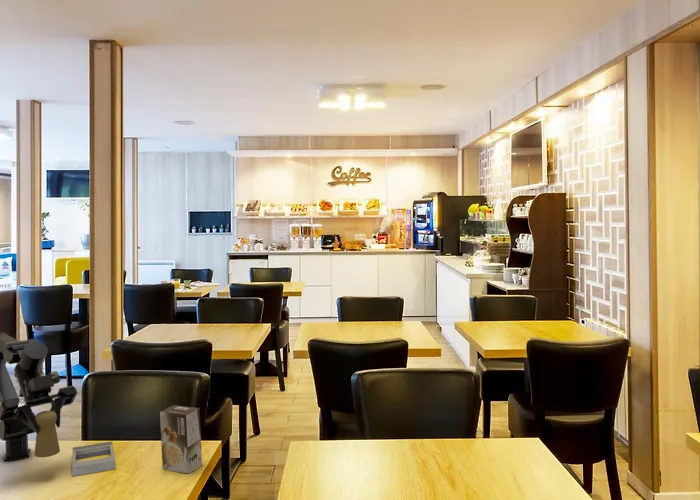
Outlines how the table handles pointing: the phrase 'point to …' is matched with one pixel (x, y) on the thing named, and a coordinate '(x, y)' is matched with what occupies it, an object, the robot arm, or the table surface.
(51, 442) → the cork
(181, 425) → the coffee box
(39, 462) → the table surface
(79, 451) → the silver metal frame
